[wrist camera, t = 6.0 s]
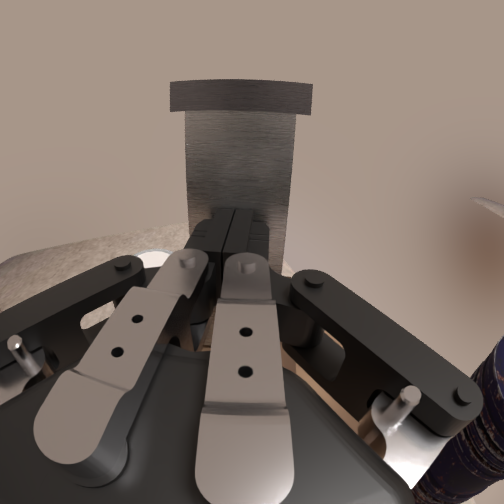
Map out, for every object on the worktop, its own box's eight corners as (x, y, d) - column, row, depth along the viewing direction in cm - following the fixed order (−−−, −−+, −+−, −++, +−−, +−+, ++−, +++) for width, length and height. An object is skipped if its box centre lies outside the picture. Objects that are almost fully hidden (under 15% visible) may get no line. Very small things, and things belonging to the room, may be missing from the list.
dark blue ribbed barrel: (457, 420, 21) (539, 321, 13) (480, 490, 12) (589, 408, 5) (383, 442, 21) (469, 340, 13) (400, 528, 12) (529, 472, 4)
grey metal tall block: (191, 347, 16) (170, 81, 9) (203, 307, 19) (194, 84, 12) (280, 354, 16) (312, 84, 9) (280, 313, 19) (302, 87, 12)
